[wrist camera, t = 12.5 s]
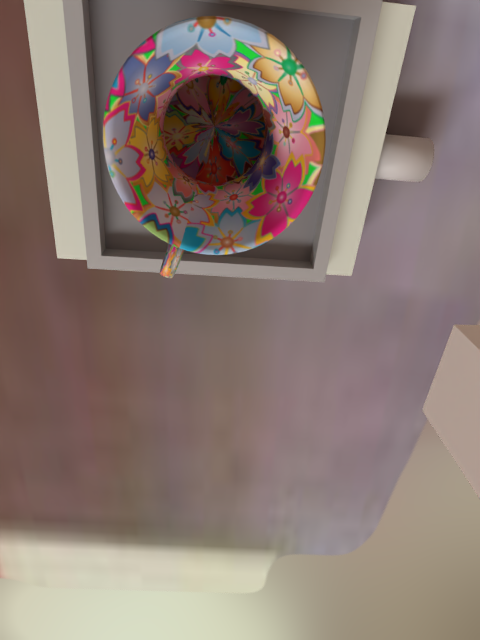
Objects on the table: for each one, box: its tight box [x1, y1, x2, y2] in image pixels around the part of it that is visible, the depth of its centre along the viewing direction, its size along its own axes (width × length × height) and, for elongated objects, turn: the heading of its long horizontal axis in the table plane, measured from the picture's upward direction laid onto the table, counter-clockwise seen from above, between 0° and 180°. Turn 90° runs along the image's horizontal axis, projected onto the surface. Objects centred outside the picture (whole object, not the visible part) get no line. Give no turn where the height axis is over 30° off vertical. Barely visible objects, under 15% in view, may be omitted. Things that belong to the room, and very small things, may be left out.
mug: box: [103, 16, 326, 278], centre depth 23 cm, size 12×9×11 cm
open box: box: [24, 0, 434, 282], centre depth 29 cm, size 26×17×6 cm, turn 85°
